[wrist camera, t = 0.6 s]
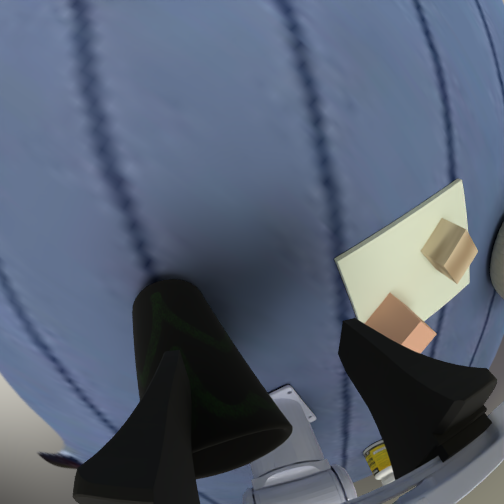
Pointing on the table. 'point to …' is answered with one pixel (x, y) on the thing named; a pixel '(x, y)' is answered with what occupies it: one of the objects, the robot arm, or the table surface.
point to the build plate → (404, 260)
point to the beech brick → (450, 250)
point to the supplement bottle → (379, 462)
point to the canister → (498, 263)
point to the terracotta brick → (401, 324)
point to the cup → (207, 378)
